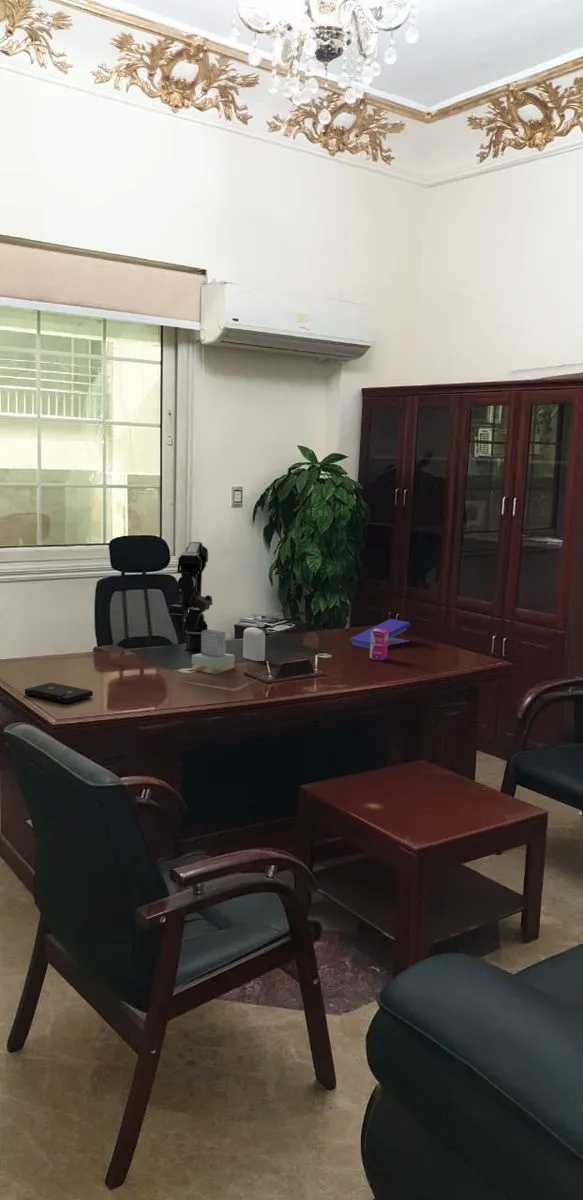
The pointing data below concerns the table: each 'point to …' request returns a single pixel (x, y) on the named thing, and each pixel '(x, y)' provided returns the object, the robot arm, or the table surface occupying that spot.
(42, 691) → the cassette tape
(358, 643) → the stapler
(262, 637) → the photo printer
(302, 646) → the table surface
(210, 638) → the medicine box
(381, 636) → the supplement box
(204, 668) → the tower base block
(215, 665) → the tower top block
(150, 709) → the table surface
